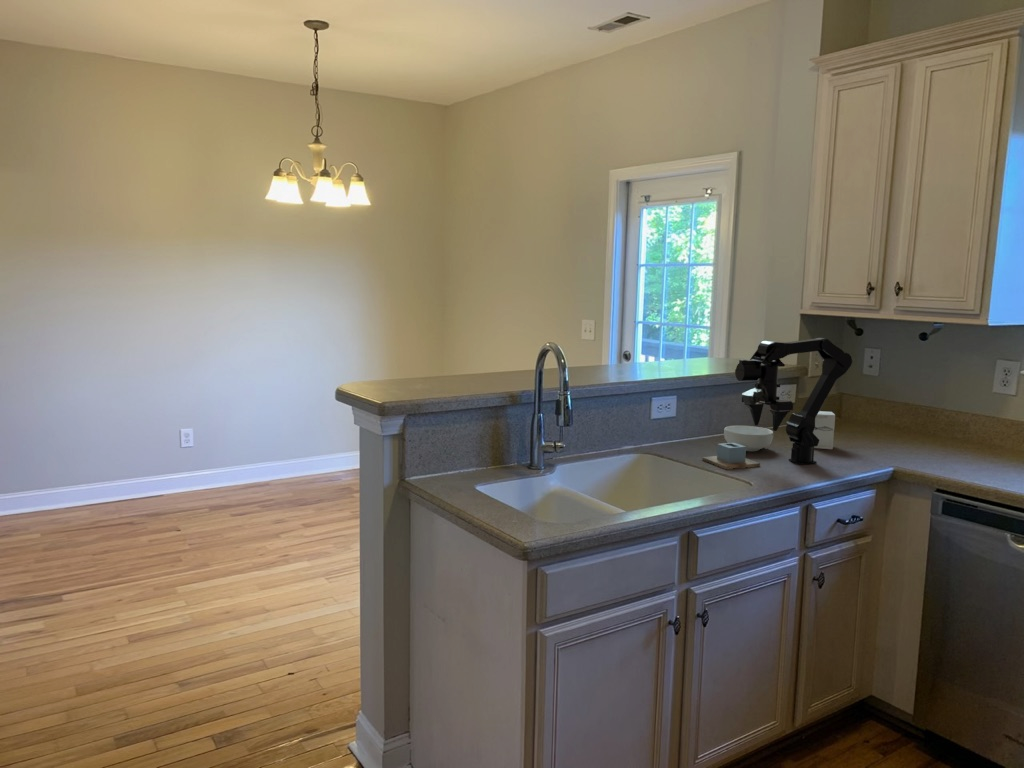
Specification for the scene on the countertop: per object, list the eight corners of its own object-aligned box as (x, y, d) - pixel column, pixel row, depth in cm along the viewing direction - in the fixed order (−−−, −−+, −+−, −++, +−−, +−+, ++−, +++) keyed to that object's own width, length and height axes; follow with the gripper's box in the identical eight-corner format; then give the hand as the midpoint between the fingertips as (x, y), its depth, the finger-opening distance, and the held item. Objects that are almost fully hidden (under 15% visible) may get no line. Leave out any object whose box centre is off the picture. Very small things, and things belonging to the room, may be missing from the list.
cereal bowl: (775, 455, 258) (776, 435, 257) (725, 453, 262) (726, 433, 261) (769, 445, 275) (770, 425, 274) (721, 442, 278) (722, 423, 277)
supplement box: (811, 448, 269) (813, 413, 267) (808, 444, 276) (810, 410, 274) (833, 449, 267) (835, 414, 266) (829, 445, 275) (832, 411, 273)
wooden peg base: (735, 457, 256) (735, 441, 255) (759, 466, 244) (760, 449, 243) (702, 460, 251) (702, 444, 251) (726, 469, 239) (726, 452, 238)
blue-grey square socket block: (716, 458, 249) (717, 443, 249) (733, 457, 251) (733, 442, 251) (728, 463, 243) (729, 448, 243) (745, 461, 245) (746, 446, 245)
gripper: (729, 377, 249) (726, 424, 251) (766, 385, 231) (763, 435, 233) (757, 376, 252) (754, 422, 255) (796, 383, 235) (793, 433, 237)
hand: (765, 428), depth 245 cm, fingers open, 9 cm apart
